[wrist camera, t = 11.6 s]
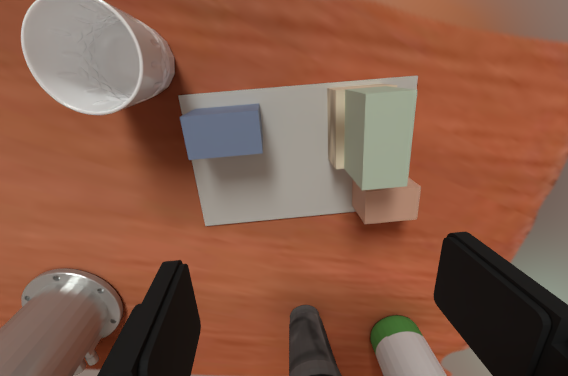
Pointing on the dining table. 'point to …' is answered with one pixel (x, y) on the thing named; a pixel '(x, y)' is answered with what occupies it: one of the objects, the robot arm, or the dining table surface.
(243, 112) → the slate blue block
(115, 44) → the white cup
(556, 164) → the dining table surface
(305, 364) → the beverage cup
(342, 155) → the beech block
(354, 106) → the sage block
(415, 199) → the terracotta block
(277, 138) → the felt placemat
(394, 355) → the wine bottle
